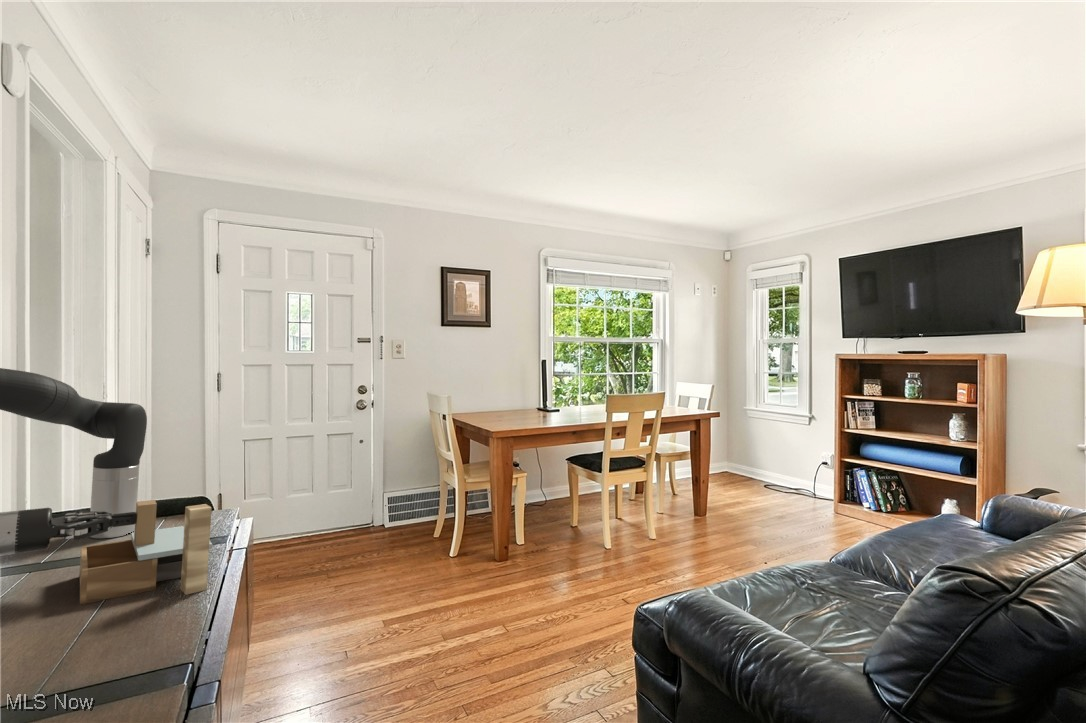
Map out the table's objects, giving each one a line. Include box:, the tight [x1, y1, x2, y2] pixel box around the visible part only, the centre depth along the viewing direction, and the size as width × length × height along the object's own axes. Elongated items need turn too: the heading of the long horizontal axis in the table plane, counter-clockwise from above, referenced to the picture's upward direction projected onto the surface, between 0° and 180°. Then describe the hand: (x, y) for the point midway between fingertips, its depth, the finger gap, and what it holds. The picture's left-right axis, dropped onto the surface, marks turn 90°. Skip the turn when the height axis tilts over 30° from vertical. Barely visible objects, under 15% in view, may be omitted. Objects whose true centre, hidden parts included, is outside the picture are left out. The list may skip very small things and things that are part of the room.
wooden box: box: [78, 539, 183, 605], centre depth 106 cm, size 16×18×6 cm
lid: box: [130, 499, 213, 561], centre depth 109 cm, size 17×12×9 cm
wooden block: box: [180, 503, 212, 596], centre depth 102 cm, size 4×4×16 cm
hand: (136, 517), depth 105 cm, fingers closed
